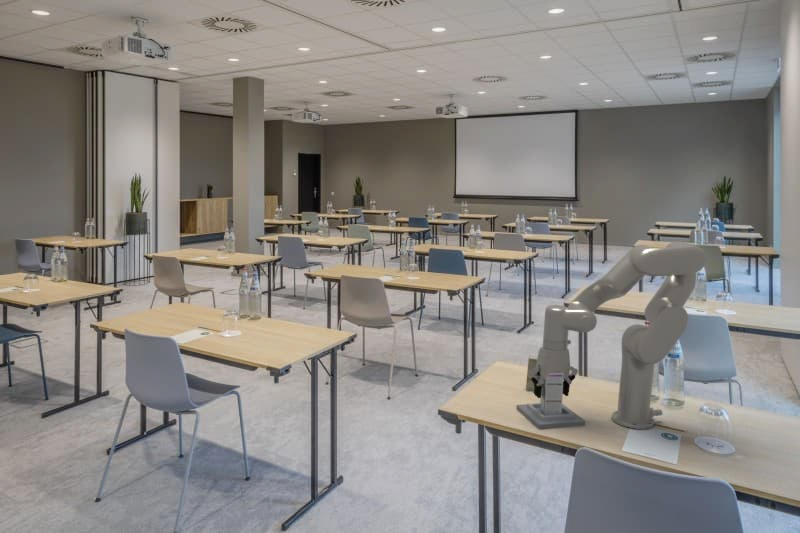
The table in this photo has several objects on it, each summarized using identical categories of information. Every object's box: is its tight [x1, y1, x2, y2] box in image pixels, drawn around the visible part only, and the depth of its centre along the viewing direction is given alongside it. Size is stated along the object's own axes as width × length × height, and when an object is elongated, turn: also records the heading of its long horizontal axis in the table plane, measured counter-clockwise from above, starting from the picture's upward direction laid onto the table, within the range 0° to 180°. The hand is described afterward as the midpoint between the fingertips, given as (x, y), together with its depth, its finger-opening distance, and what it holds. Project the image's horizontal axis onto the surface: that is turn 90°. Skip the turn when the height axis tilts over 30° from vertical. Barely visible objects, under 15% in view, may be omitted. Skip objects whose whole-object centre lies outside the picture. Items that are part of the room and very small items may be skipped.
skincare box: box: [525, 354, 542, 392], centre depth 213 cm, size 6×4×12 cm
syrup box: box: [539, 372, 564, 416], centre depth 188 cm, size 6×6×14 cm
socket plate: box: [515, 402, 587, 430], centre depth 189 cm, size 16×16×3 cm
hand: (551, 395), depth 188 cm, fingers open, 9 cm apart
